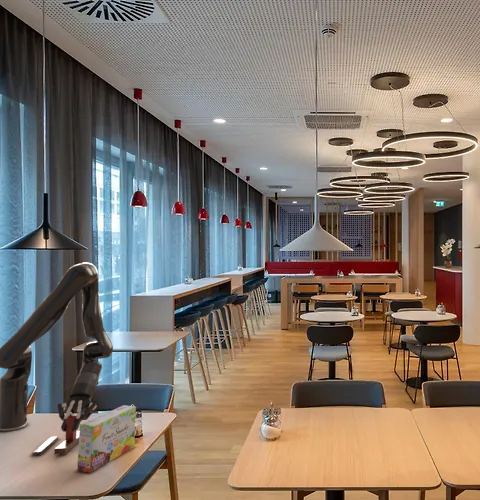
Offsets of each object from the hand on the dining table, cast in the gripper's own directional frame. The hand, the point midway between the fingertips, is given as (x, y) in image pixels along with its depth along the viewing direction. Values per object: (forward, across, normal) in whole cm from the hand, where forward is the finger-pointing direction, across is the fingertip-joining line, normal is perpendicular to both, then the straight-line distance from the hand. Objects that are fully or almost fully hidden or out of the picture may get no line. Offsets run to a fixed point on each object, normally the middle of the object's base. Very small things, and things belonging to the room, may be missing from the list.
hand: (68, 430), depth 165 cm
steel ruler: (+3, -9, +6) cm, 11 cm away
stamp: (+3, 0, +6) cm, 6 cm away
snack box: (+11, +17, -1) cm, 20 cm away
